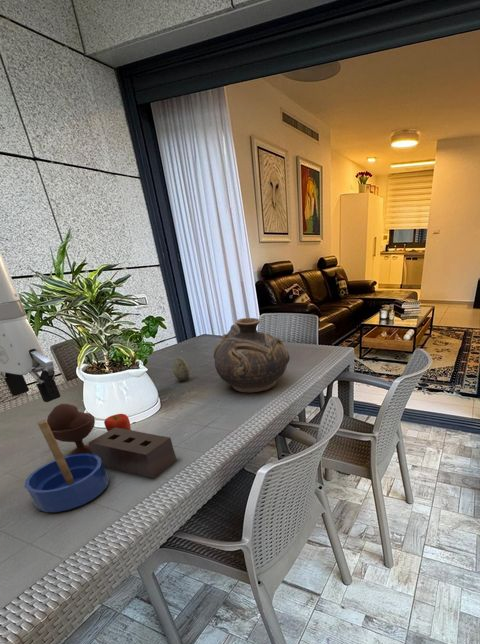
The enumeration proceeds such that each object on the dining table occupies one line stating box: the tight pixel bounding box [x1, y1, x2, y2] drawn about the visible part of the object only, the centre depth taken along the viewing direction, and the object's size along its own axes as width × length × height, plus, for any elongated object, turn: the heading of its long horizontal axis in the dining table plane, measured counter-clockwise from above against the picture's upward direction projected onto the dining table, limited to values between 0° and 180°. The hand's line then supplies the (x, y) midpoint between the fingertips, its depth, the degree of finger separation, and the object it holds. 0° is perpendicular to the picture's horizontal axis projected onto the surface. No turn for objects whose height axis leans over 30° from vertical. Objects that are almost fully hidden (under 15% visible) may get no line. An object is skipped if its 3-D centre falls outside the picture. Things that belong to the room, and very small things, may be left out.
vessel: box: [213, 317, 291, 393], centre depth 131 cm, size 27×28×25 cm
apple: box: [103, 413, 132, 432], centre depth 101 cm, size 6×6×8 cm
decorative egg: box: [172, 356, 191, 382], centre depth 141 cm, size 6×6×10 cm
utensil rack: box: [88, 427, 177, 479], centre depth 90 cm, size 19×8×7 cm, turn 70°
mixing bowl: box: [24, 453, 110, 513], centre depth 80 cm, size 15×15×6 cm
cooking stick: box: [37, 419, 75, 485], centre depth 77 cm, size 2×2×18 cm
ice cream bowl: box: [46, 403, 96, 455], centre depth 94 cm, size 11×11×15 cm
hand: (36, 396), depth 74 cm, fingers open, 9 cm apart
